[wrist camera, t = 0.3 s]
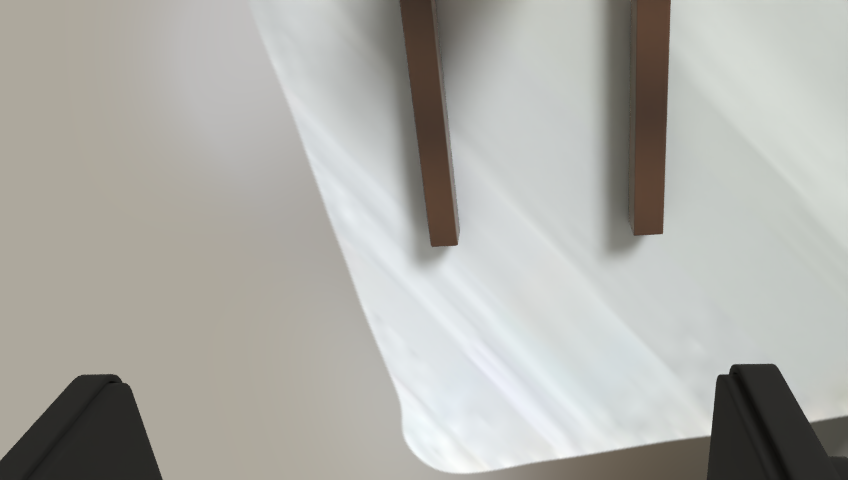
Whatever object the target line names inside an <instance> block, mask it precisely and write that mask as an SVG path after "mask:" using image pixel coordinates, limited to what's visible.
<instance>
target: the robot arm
mask: <svg viewBox="0 0 848 480" xmlns="http://www.w3.org/2000/svg"><path fill="white" fill-rule="evenodd" d="M0 480H162V477H161V474H160V471H159V468H158V465H157V462H156V459H155V456H154V453H153V451H152V448H151V445H150V442H149V439H148V437H147V433H146V430H145V428H144V425H143V422H142V419H141V416H140V413H139V410H138V407H137V404H136V402H135V399H134V396H133V393H132V390H131V388H130V386H129V385H128V384H126V383H122V381H121V379H120V378H119V377H118V376H117V375H113V374H106V375H105V374H103V375H102V374H100V375H81V376H78V377H77V378H75V379H74V380H73V381H72V382H71V383H70V384H69V385H68V387H67V388H66V389H65V390H64V391H63V392H62V393H61V394H60V395H59V397H58V398H57V399H56V400H55V401H54V402H53V403H52V404H51V405H50V406H49V408H48V409H47V410H46V411H45V412H44V413H43V414H42V415H41V417H40V418H39V419H38V420H37V421H36V422H35V423H34V424H33V425H32V426H31V427H30V429H29V430H28V431H27V432H26V433H25V434H24V435H23V437H22V438H21V439H20V440H19V441H18V442H17V443H16V444H15V445H14V446H13V448H11V450H10V451H9V452H8V453H7V454H6V455H5V456H4V457H3V458H2V460H1V461H0ZM707 480H848V458H846V457H828V455H827V453H826V452H825V450H824V448H823V446H822V445H821V443H820V441H819V439H818V438H817V436H816V434H815V432H814V431H813V429H812V427H811V425H810V423H809V422H808V420H807V418H806V416H805V415H804V413H803V411H802V409H801V408H800V406H799V404H798V402H797V401H796V399H795V397H794V395H793V393H792V392H791V390H790V388H789V386H788V385H787V383H786V381H785V379H784V378H783V376H782V374H781V372H780V371H779V369H778V368H777V366H776V365H774V364H734V365H732V366H731V369H730V372H729V374H728V375H718V377H717V381H716V390H715V401H714V411H713V421H712V432H711V442H710V452H709V463H708V473H707Z"/></svg>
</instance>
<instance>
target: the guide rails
mask: <svg viewBox="0 0 848 480" xmlns="http://www.w3.org/2000/svg"><path fill="white" fill-rule="evenodd" d="M670 6H671V0H631V26H630V133H629V223H630V226H631V229H632V231H633V234H634V235H635V236H636V235H654V234H663V218H664V188H665V158H666V127H667V97H668V67H669V37H670ZM400 7H401V15H402V23H403V31H404V38H405V46H406V54H407V62H408V70H409V78H410V85H411V93H412V101H413V109H414V117H415V125H416V132H417V140H418V148H419V156H420V164H421V172H422V179H423V187H424V195H425V203H426V211H427V218H428V226H429V234H430V242H431V246H432V247H439V246H456V245H458V240H459V233H460V227H459V218H458V209H457V199H456V190H455V181H454V171H453V162H452V152H451V143H450V134H449V124H448V115H447V105H446V96H445V87H444V77H443V68H442V59H441V49H440V40H439V30H438V21H437V12H436V2H435V0H400Z"/></svg>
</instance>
